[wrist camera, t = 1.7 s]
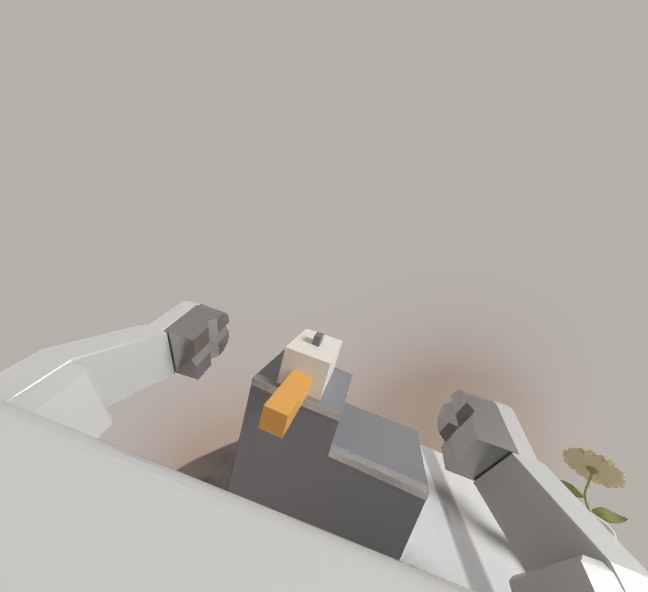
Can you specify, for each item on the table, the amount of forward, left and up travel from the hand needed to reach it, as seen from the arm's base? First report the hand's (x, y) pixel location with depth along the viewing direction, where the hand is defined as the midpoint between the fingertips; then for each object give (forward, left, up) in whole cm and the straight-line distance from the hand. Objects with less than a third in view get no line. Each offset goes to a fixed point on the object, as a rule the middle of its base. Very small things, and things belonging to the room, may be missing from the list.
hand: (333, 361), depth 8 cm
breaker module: (-3, -24, -18) cm, 30 cm away
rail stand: (-11, -26, -44) cm, 52 cm away
